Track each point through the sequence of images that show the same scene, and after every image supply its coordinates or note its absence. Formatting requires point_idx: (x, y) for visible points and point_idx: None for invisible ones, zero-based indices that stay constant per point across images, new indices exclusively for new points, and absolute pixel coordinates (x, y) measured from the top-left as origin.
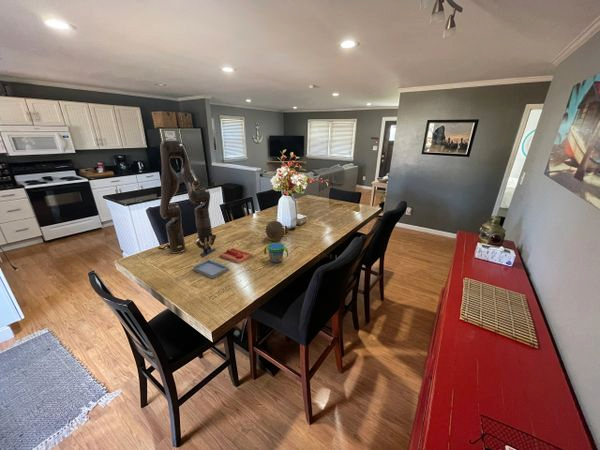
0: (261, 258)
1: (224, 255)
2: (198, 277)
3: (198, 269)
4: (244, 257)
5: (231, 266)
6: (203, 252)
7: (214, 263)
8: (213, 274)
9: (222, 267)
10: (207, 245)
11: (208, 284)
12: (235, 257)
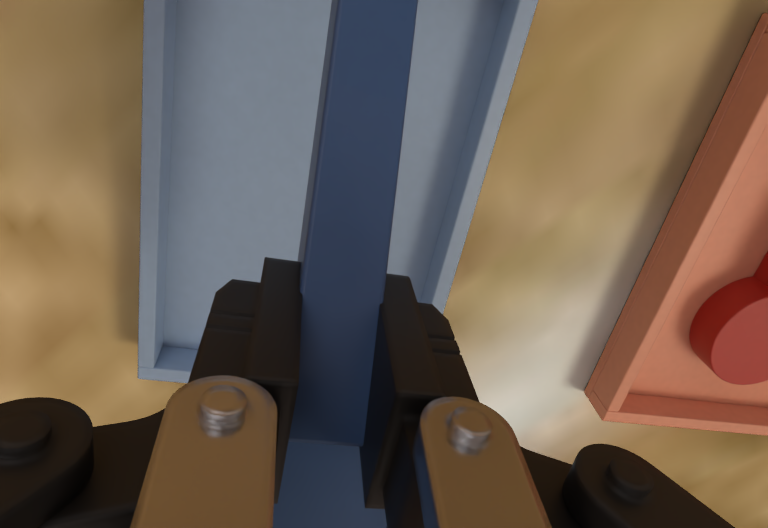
0: (732, 505)
1: (742, 144)
2: (52, 154)
3: (144, 56)
4: (697, 426)
5: (495, 356)
6: (315, 165)
7: (471, 137)
8: (165, 373)
9: (421, 297)
10: (408, 486)
11: (27, 383)
12: (728, 279)
